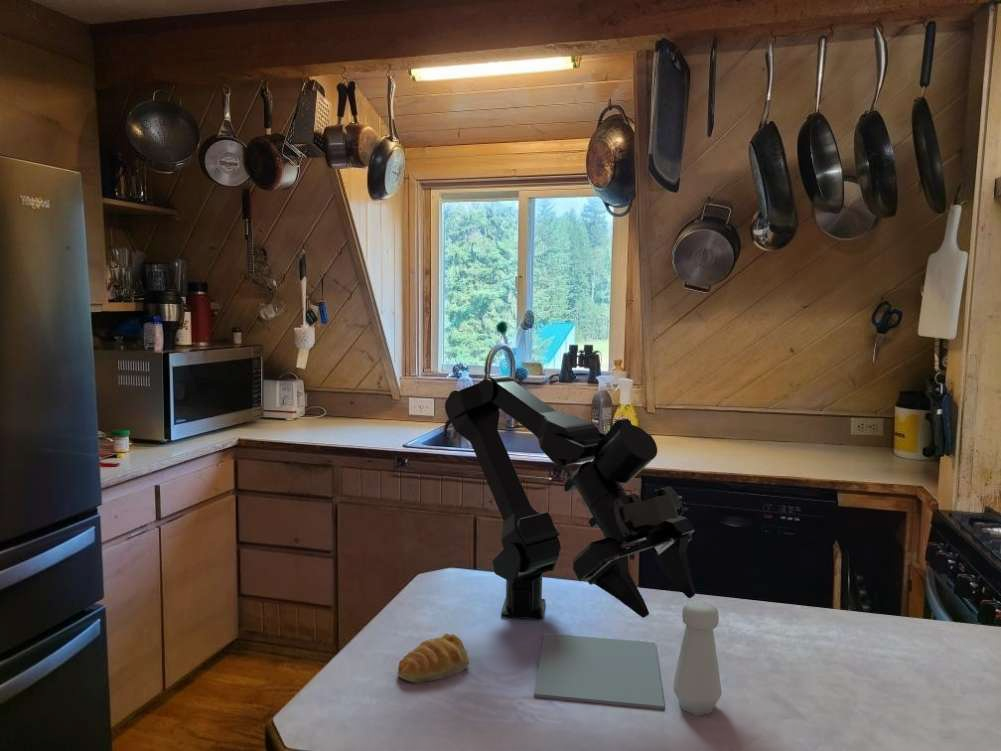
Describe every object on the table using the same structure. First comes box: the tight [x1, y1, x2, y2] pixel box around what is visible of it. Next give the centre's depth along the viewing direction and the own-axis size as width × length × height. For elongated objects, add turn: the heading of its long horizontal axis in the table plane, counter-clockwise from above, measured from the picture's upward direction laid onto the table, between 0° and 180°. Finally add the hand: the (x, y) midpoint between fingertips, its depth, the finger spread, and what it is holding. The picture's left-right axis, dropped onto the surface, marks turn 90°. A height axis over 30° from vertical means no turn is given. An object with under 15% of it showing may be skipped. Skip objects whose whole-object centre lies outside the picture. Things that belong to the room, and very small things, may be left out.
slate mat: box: [533, 632, 665, 710], centre depth 96 cm, size 16×16×1 cm
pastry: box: [397, 633, 470, 684], centre depth 96 cm, size 9×7×4 cm
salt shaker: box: [672, 600, 723, 716], centre depth 87 cm, size 6×6×13 cm
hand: (670, 606), depth 90 cm, fingers open, 9 cm apart
